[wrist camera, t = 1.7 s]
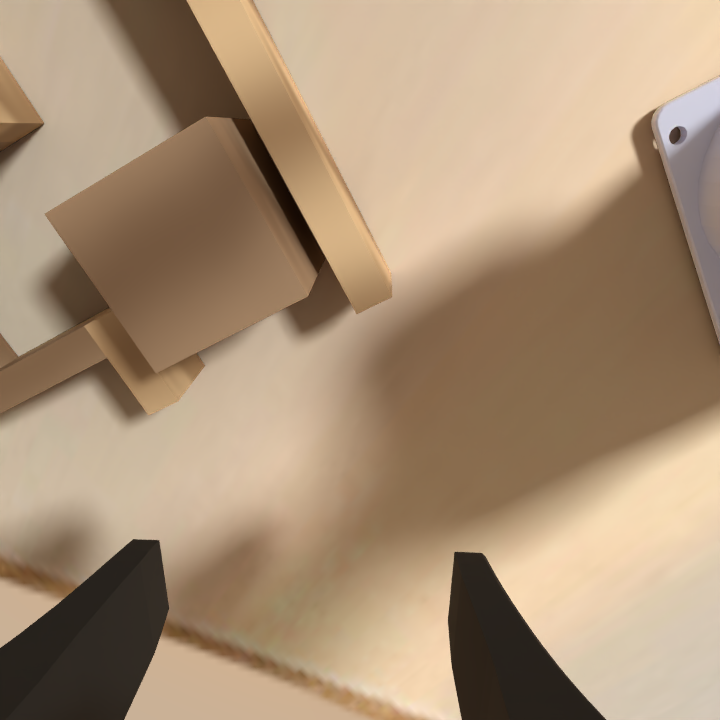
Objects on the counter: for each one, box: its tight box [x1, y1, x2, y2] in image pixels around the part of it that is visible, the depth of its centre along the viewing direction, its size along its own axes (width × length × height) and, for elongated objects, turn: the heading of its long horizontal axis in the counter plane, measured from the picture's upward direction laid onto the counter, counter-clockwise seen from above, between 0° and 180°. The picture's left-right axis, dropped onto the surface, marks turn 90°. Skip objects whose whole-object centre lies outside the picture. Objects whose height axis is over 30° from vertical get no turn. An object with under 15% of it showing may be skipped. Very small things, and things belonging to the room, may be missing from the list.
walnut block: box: [45, 116, 325, 373], centre depth 17 cm, size 5×5×5 cm
